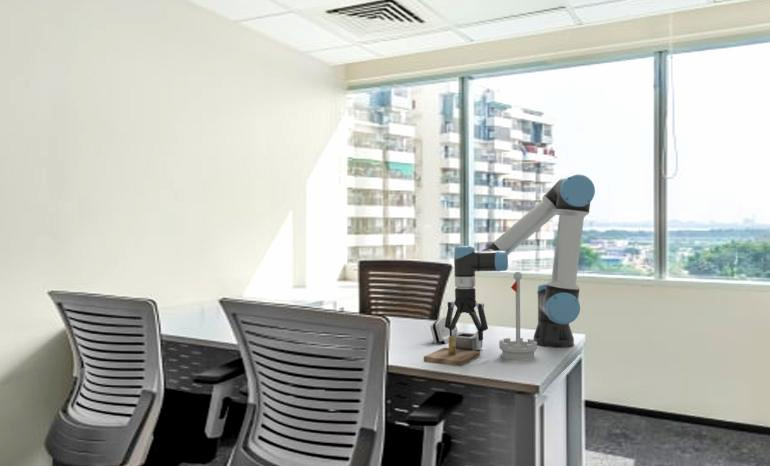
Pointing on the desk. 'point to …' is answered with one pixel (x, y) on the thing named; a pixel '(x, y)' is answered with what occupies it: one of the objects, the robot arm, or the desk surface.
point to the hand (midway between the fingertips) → (466, 347)
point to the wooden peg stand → (452, 355)
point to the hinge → (441, 330)
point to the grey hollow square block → (466, 341)
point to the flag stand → (517, 334)
